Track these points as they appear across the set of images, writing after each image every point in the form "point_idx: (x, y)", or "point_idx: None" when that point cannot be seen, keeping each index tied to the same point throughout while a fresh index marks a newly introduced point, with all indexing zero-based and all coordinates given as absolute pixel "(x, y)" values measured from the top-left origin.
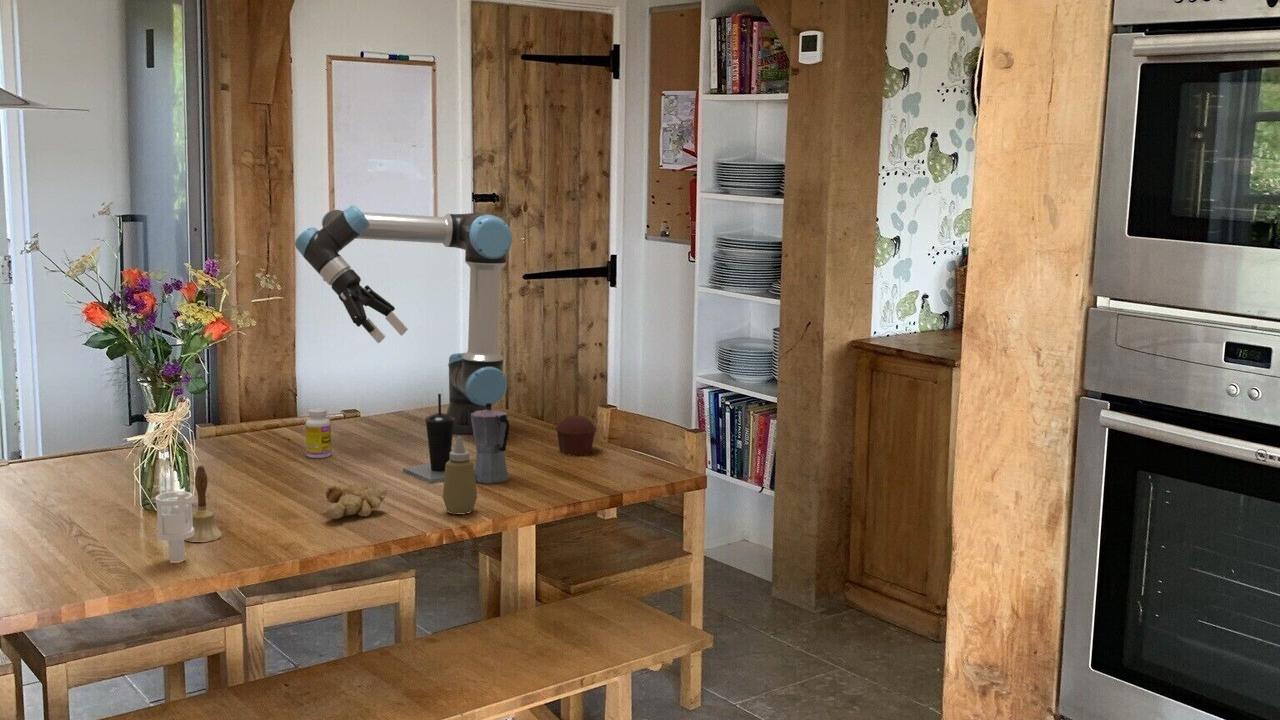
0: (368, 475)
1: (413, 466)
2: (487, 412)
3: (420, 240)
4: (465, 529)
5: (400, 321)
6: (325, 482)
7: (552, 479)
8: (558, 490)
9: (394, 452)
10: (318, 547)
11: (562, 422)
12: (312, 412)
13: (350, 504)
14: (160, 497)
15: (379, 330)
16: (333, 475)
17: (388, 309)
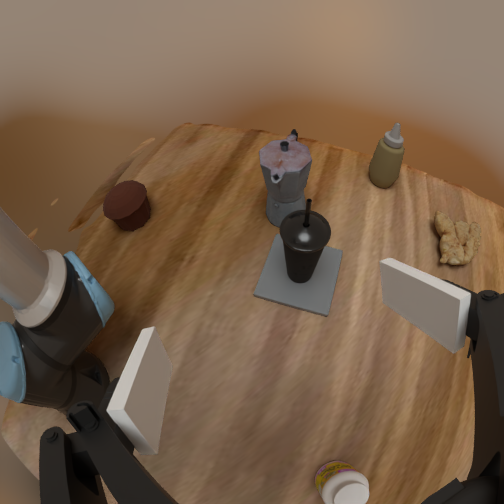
0: (369, 340)
1: (312, 309)
2: (294, 148)
3: None
4: None
5: (143, 353)
6: (422, 354)
7: (244, 176)
8: None
9: (247, 405)
10: (489, 211)
11: (129, 200)
12: (368, 492)
13: (466, 222)
14: None
15: (409, 268)
16: (397, 375)
17: (116, 437)
